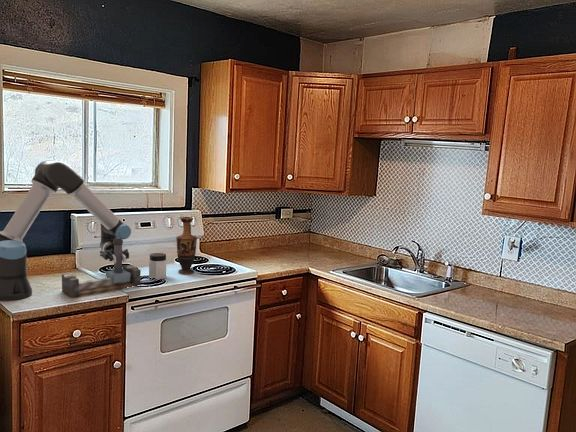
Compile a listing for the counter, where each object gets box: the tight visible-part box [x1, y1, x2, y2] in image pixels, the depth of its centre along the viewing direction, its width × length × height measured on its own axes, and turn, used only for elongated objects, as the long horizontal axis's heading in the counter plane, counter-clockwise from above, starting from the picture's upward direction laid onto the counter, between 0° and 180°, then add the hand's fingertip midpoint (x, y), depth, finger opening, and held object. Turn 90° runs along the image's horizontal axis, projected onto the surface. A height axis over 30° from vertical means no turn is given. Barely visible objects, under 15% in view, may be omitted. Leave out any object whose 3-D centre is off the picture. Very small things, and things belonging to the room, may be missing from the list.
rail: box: [61, 264, 141, 299], centre depth 227 cm, size 34×12×9 cm, turn 134°
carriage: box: [105, 237, 131, 283], centre depth 231 cm, size 8×9×21 cm
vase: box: [176, 216, 198, 275], centre depth 261 cm, size 11×11×30 cm
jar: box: [148, 252, 167, 280], centre depth 250 cm, size 9×8×12 cm
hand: (120, 259), depth 226 cm, fingers closed on carriage, 4 cm apart
